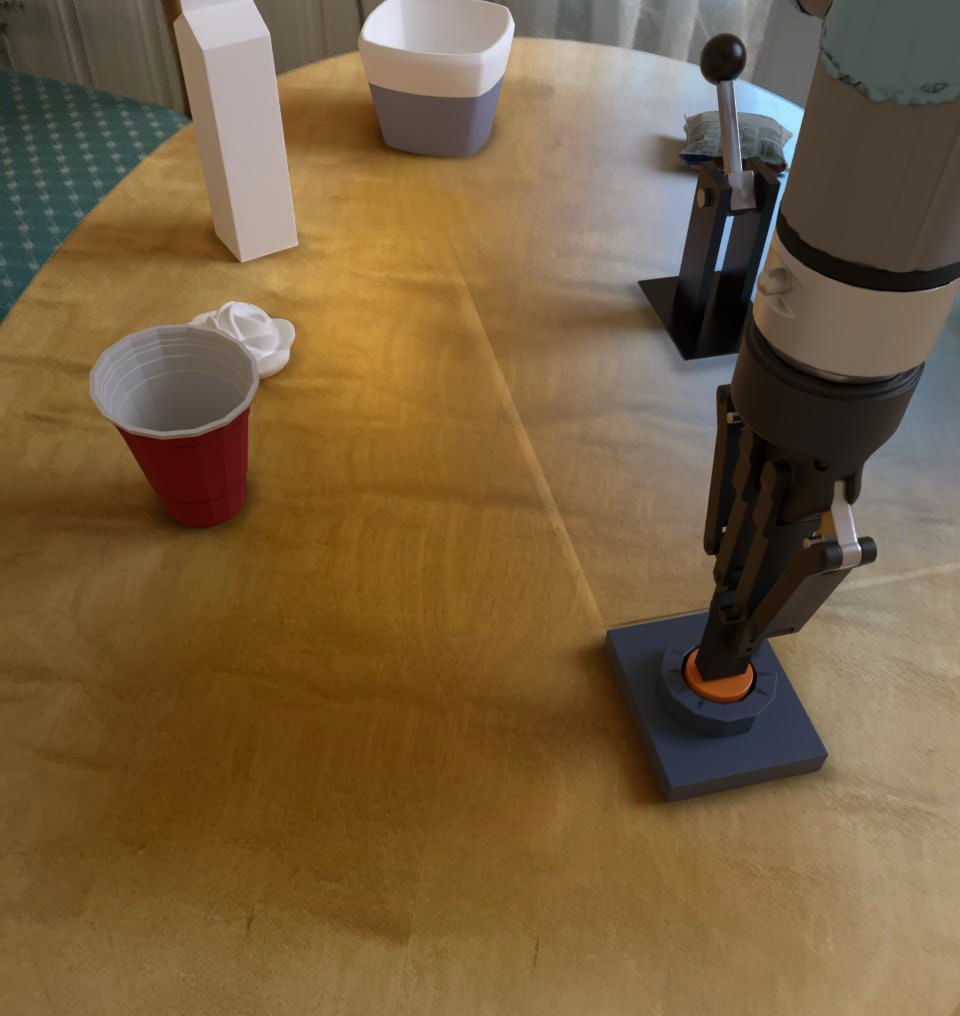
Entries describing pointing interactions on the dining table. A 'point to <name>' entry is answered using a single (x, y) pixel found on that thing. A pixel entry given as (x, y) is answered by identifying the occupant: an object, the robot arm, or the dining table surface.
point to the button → (717, 684)
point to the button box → (709, 714)
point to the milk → (237, 124)
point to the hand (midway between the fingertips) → (719, 667)
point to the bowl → (436, 72)
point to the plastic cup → (182, 415)
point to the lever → (729, 114)
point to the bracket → (699, 288)
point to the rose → (253, 333)
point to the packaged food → (754, 137)
